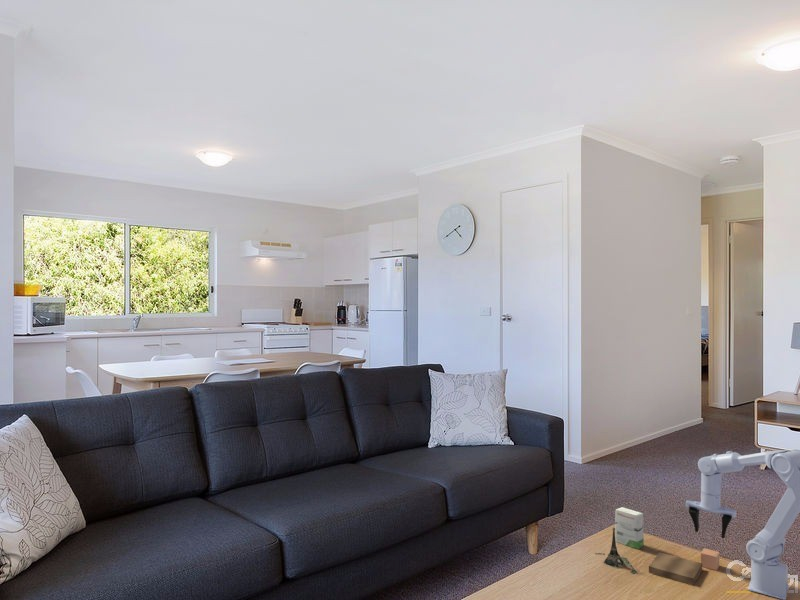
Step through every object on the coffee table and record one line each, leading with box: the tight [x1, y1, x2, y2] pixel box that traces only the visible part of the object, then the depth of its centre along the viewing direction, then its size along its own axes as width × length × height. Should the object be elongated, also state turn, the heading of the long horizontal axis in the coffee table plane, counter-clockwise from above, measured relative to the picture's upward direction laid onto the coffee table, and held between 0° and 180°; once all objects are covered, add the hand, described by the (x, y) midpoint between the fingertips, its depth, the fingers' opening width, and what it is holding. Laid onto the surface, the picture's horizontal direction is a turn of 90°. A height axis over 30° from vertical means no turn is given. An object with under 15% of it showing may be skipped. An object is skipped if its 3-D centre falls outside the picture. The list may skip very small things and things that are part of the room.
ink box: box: [614, 506, 645, 550], centre depth 206 cm, size 9×5×12 cm, turn 39°
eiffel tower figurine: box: [594, 527, 639, 575], centre depth 190 cm, size 15×10×13 cm
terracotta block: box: [700, 547, 720, 571], centre depth 189 cm, size 5×5×4 cm
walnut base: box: [648, 551, 703, 586], centre depth 185 cm, size 13×13×2 cm
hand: (709, 533), depth 189 cm, fingers open, 7 cm apart
